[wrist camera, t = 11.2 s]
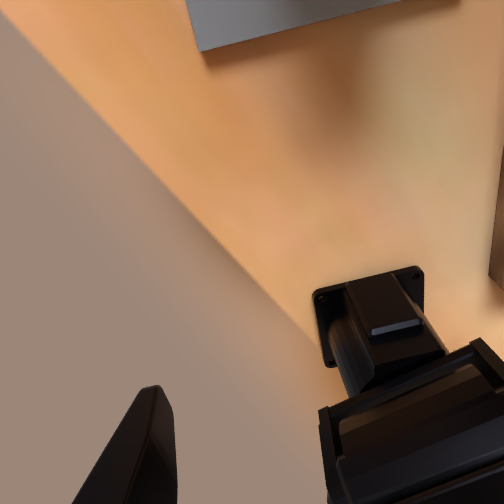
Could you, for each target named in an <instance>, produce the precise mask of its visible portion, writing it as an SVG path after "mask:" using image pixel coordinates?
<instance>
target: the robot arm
mask: <svg viewBox="0 0 504 504" xmlns="http://www.w3.org/2000/svg"><path fill="white" fill-rule="evenodd" d="M416 273H417V274H416ZM413 274H416V275H415V276H412V275H413ZM321 296H324V297H323V298H319V297H321ZM312 299H313V305H314V311H315V316H316V322H317V328H318V333H319V339H320V345H321V350H322V356H323V361H324V363H325V366H326V367H328V368H334V367H338V369H339V372H340V374H341V377H342V379H343V383H344V385H345V388H346V391H347V394H348V396H349V399H347V400H344V401H342V402H340V403H338V404H335V405H334V406H331V407H328V406H326V407H324V408H322V409H320V410H318V414H319V421H320V424H319V434H320V442H321V449H322V457H323V465H324V472H325V480H326V487H327V490H328V493H327V503H328V504H504V362H503V361H502V360H501V358H500V357H499V356H498V355H497V354H496V353H495V352H494V351H493V350H492V349H491V348H490V347H489V346H488V345H487V344H486V343H485V342H484V341H483V340H482V339H481V338H477V339H475V340H473V341H471V342H469V343H470V344H469V345H467V346H464V347H462V348H460V349H458V350H456V351H453V352H451V353H449V351H448V350H447V348H446V347H445V345H444V344H443V342H442V341H441V339H440V338H439V336H438V335H437V333H436V332H435V330H434V329H433V327H432V326H431V324H430V323H429V321H428V320H427V318H426V317H425V315H424V272H423V271H422V270H421V268H420V267H418V266H411V267H407V268H403V269H399V270H394V271H390V272H386V273H382V274H378V275H374V276H370V277H365V278H361V279H357V280H353V281H349V282H345V283H341V284H336V285H332V286H328V287H324V288H320V289H317V290H316V291H314V292H313V294H312ZM331 360H332V361H331ZM177 488H178V484H177V465H176V450H175V432H174V417H173V411H172V407H171V405H170V403H169V401H168V399H167V397H166V395H165V393H164V391H163V389H162V387H161V386H160V385H154V386H150V387H146V388H143V389H141V390H140V391H139V393H138V394H137V396H136V398H135V399H134V401H133V403H132V404H131V406H130V408H129V409H128V411H127V413H126V414H125V416H124V418H123V419H122V421H121V423H120V424H119V426H118V428H117V429H116V431H115V432H114V434H113V436H112V438H111V439H110V441H109V442H108V444H107V446H106V447H105V449H104V451H103V452H102V454H101V456H100V457H99V459H98V461H97V462H96V464H95V466H94V467H93V469H92V471H91V472H90V474H89V476H88V477H87V479H86V481H85V482H84V484H83V486H82V488H81V489H80V491H79V492H78V494H77V496H76V497H75V499H74V501H73V502H72V504H177Z"/></svg>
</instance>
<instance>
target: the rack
mask: <svg viewBox="0 0 504 504" xmlns="http://www.w3.org/2000/svg"><path fill="white" fill-rule="evenodd" d="M488 275H489V276H490V277H491V278H492V279H493V280H494V281H495V282H496V283H497V284H498V285H499V286H500V287H501V288H502V290H503V291H504V151H503V159H502V167H501V175H500V184H499V192H498V200H497V208H496V217H495V225H494V233H493V241H492V249H491V258H490V266H489V274H488Z"/></svg>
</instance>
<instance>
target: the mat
mask: <svg viewBox="0 0 504 504" xmlns="http://www.w3.org/2000/svg"><path fill="white" fill-rule="evenodd" d="M397 1H401V0H186V4H187V7H188V11H189V15H190V19H191V23H192V27H193V30H194V34H195V38H196V42H197V46H198V50H199V52H201V51H205V50H209V49H213V48H217V47H221V46H225V45H229V44H233V43H237V42H241V41H245V40H248V39H252V38H256V37H260V36H264V35H268V34H272V33H276V32H280V31H284V30H288V29H292V28H295V27H299V26H303V25H307V24H311V23H315V22H319V21H323V20H327V19H331V18H335V17H339V16H342V15H346V14H350V13H354V12H358V11H362V10H366V9H370V8H374V7H378V6H382V5H386V4H389V3H393V2H397Z"/></svg>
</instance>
